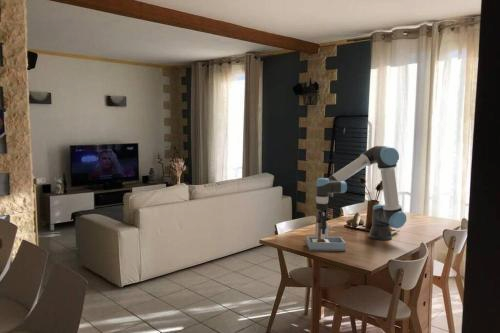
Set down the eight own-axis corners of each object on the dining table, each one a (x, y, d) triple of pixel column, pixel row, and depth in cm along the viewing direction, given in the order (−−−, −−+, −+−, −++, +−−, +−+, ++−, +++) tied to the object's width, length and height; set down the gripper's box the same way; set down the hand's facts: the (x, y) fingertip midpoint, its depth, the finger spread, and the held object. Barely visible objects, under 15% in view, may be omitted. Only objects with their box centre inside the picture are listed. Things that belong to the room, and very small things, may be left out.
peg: (323, 244, 254) (324, 223, 253) (324, 246, 250) (325, 224, 249) (317, 244, 254) (317, 223, 253) (318, 246, 250) (318, 224, 249)
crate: (340, 244, 259) (340, 237, 259) (345, 251, 245) (345, 243, 245) (306, 244, 259) (306, 236, 259) (309, 250, 245) (309, 242, 245)
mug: (320, 241, 265) (321, 225, 264) (312, 238, 272) (312, 222, 272) (334, 239, 272) (334, 223, 271) (325, 236, 279) (326, 221, 278)
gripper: (313, 199, 262) (312, 231, 264) (319, 206, 237) (318, 241, 239) (324, 199, 262) (323, 231, 264) (331, 206, 237) (330, 241, 239)
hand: (321, 236), depth 252 cm, fingers open, 13 cm apart
